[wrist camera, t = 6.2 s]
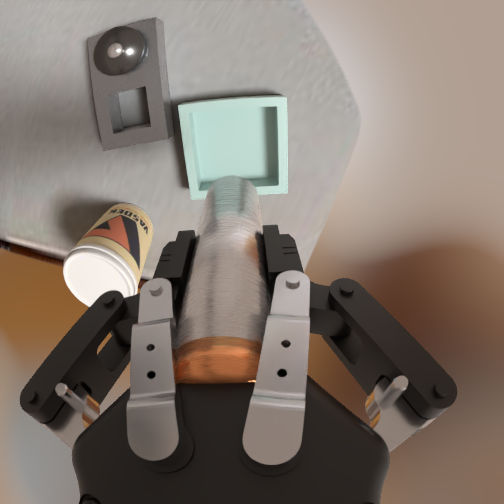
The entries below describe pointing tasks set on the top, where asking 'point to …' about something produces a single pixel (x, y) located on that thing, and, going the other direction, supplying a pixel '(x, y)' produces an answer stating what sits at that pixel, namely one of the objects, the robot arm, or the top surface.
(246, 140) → the tray
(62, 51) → the top surface
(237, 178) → the pin
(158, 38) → the block
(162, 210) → the top surface
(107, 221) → the coffee cup
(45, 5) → the top surface
